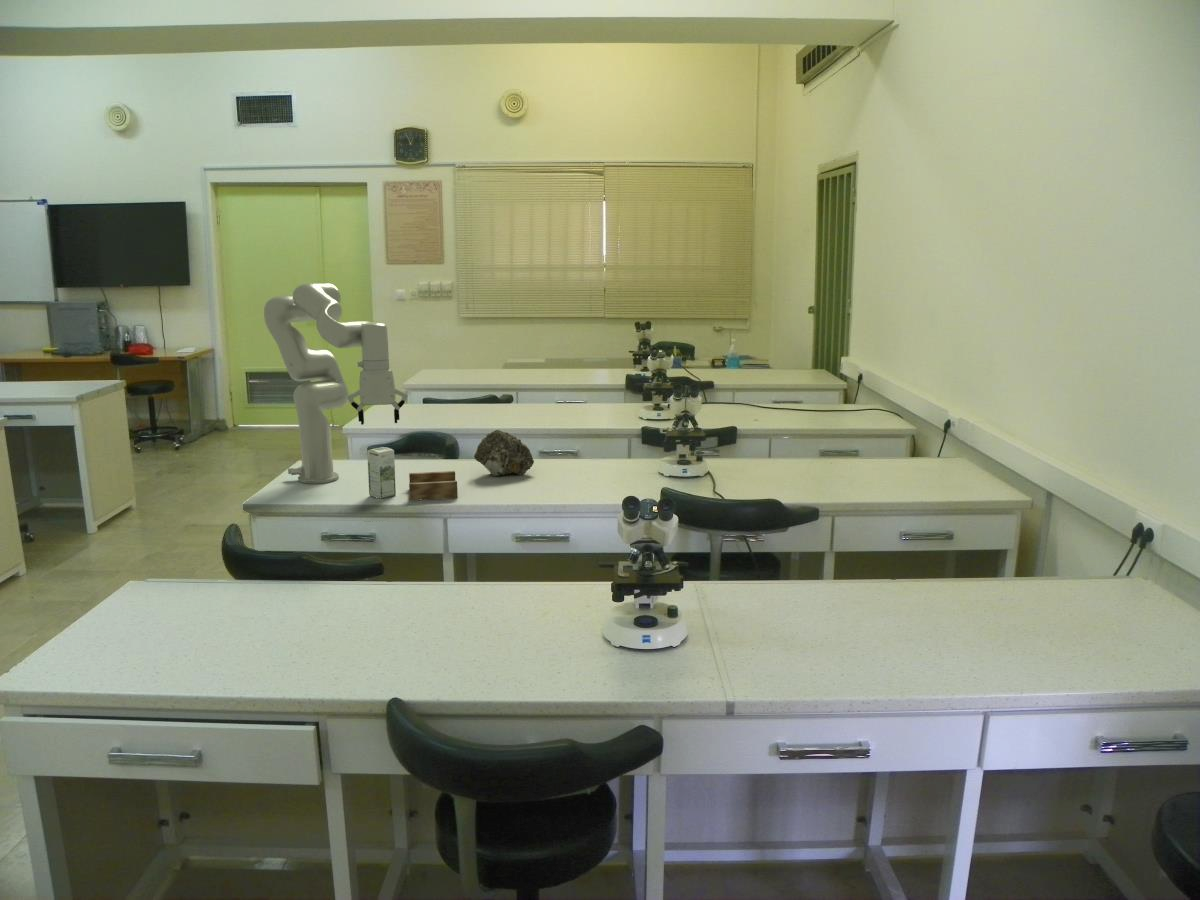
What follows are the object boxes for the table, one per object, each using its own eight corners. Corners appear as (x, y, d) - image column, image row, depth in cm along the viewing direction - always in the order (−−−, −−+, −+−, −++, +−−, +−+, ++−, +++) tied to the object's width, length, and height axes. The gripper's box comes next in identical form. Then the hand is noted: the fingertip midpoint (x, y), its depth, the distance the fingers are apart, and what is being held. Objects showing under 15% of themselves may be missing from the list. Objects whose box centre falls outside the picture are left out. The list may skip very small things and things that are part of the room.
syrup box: (384, 492, 278) (381, 446, 275) (396, 495, 274) (394, 448, 271) (369, 496, 274) (366, 449, 271) (381, 499, 270) (378, 452, 267)
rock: (495, 428, 290) (499, 411, 304) (466, 459, 294) (471, 441, 307) (539, 463, 295) (540, 445, 309) (510, 493, 299) (512, 474, 313)
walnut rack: (409, 500, 269) (409, 484, 268) (409, 488, 282) (409, 473, 281) (457, 498, 272) (457, 481, 271) (455, 486, 285) (454, 470, 284)
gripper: (344, 368, 260) (348, 426, 264) (406, 366, 264) (409, 424, 267) (346, 365, 268) (350, 422, 271) (406, 363, 271) (409, 419, 275)
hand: (379, 423), depth 269 cm, fingers open, 9 cm apart
